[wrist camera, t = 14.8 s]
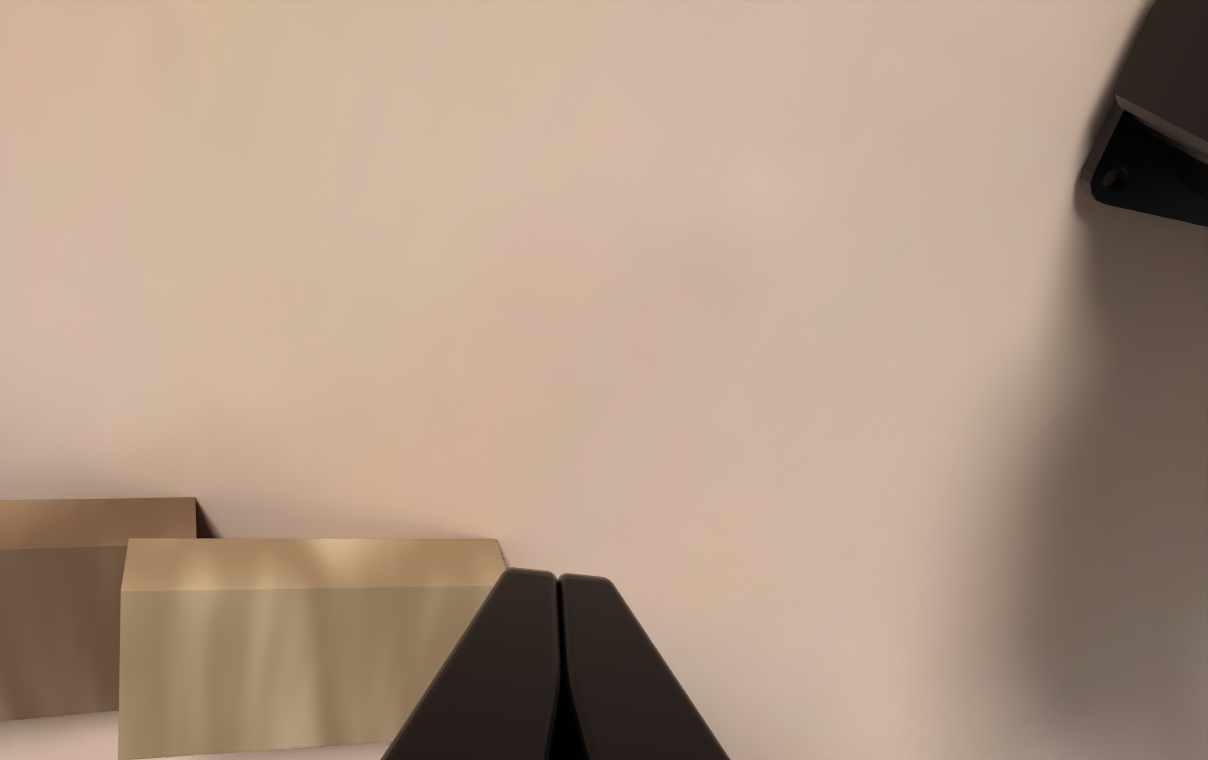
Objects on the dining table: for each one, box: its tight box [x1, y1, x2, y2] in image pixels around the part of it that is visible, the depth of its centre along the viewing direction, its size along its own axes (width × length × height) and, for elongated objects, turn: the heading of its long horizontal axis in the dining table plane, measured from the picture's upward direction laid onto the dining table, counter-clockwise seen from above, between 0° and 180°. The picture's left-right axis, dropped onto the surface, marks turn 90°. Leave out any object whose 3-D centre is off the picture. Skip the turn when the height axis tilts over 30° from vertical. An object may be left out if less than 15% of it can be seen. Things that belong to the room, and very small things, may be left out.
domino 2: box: [118, 538, 506, 760], centre depth 23 cm, size 2×5×8 cm
